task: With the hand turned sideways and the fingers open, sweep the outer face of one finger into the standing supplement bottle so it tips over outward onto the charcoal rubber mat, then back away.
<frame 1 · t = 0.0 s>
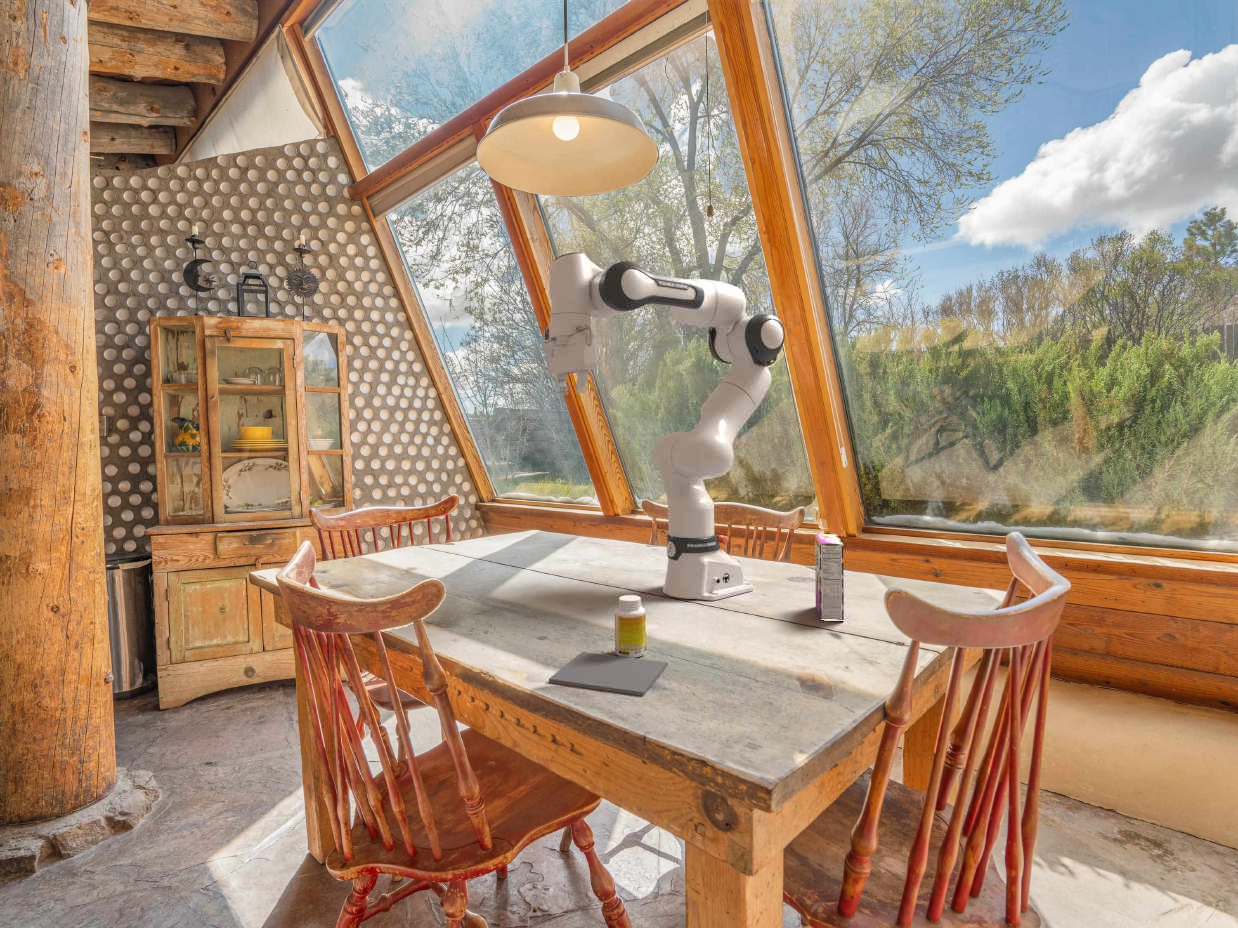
hand: (571, 394, 141), 48 cm above the table, tool pointing down, fingers open, 8 cm apart
candy bar box: (828, 615, 139), on the table
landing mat: (610, 673, 107), on the table
supplement bottle: (630, 654, 117), on the table
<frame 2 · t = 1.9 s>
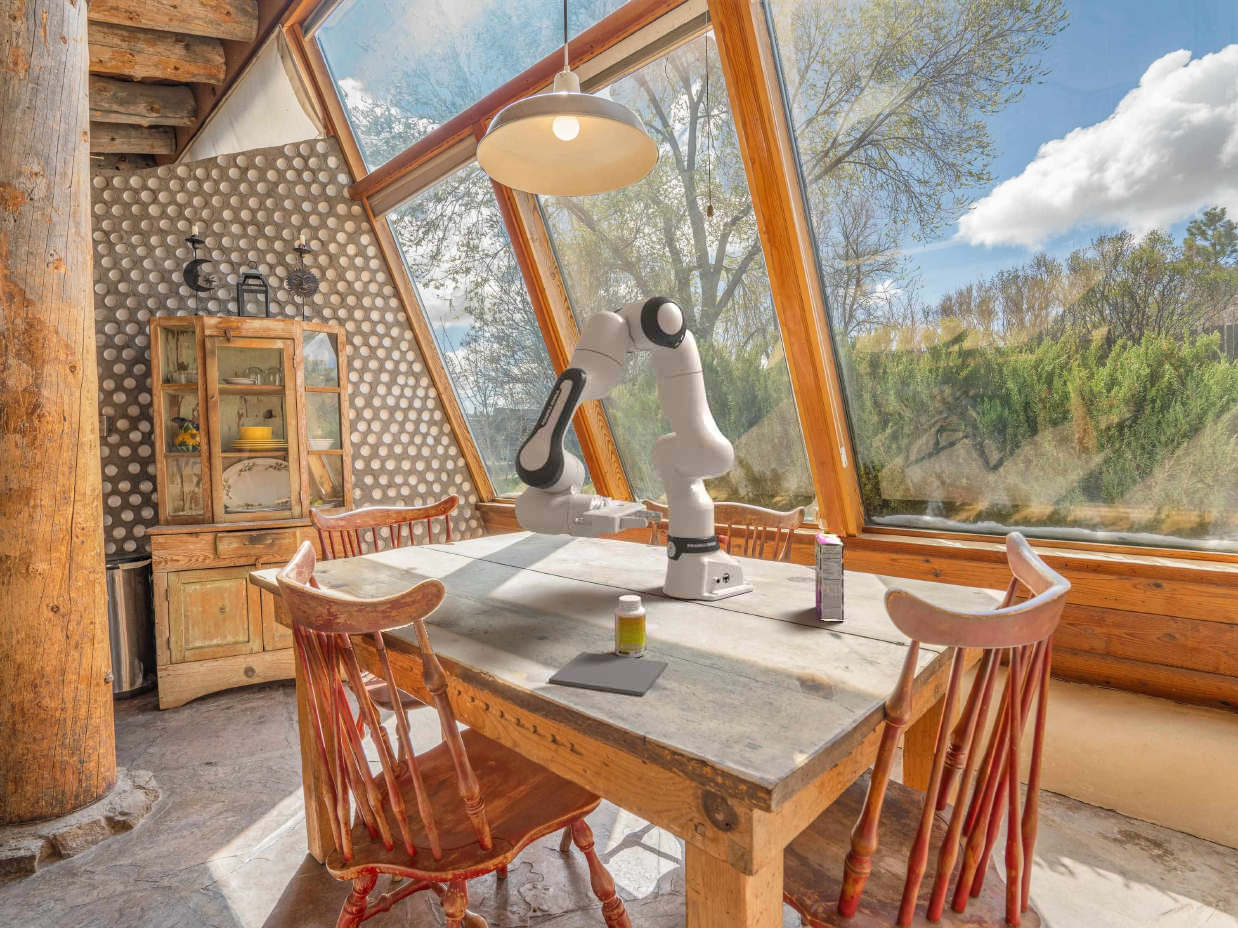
hand: (654, 519, 127), 22 cm above the table, tool horizontal, fingers open, 8 cm apart
nothing on the table moved.
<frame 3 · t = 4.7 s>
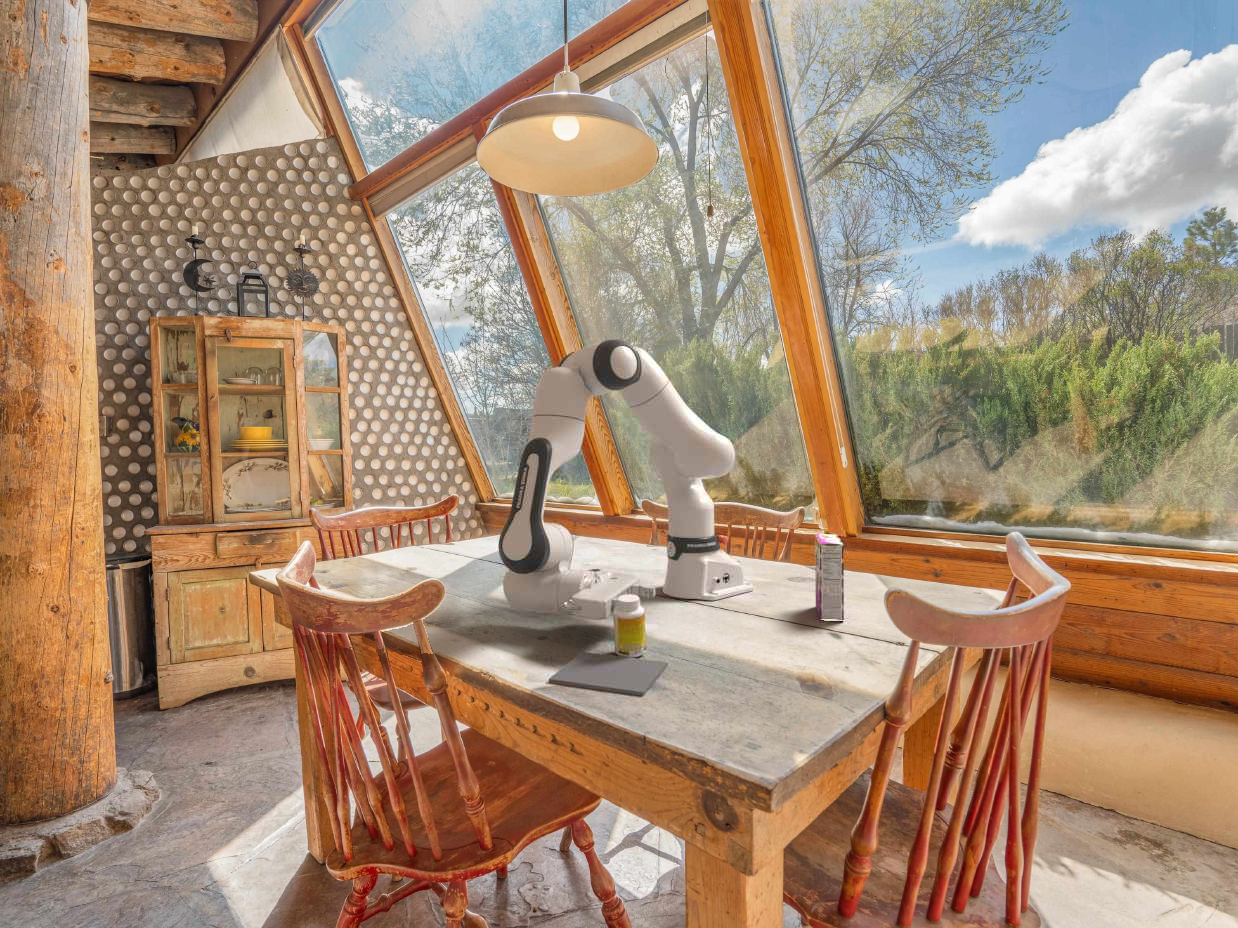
hand: (647, 598, 123), 8 cm above the table, tool horizontal, fingers open, 7 cm apart
supplement bottle: (630, 653, 117), on the table, touching gripper
everything else where it was.
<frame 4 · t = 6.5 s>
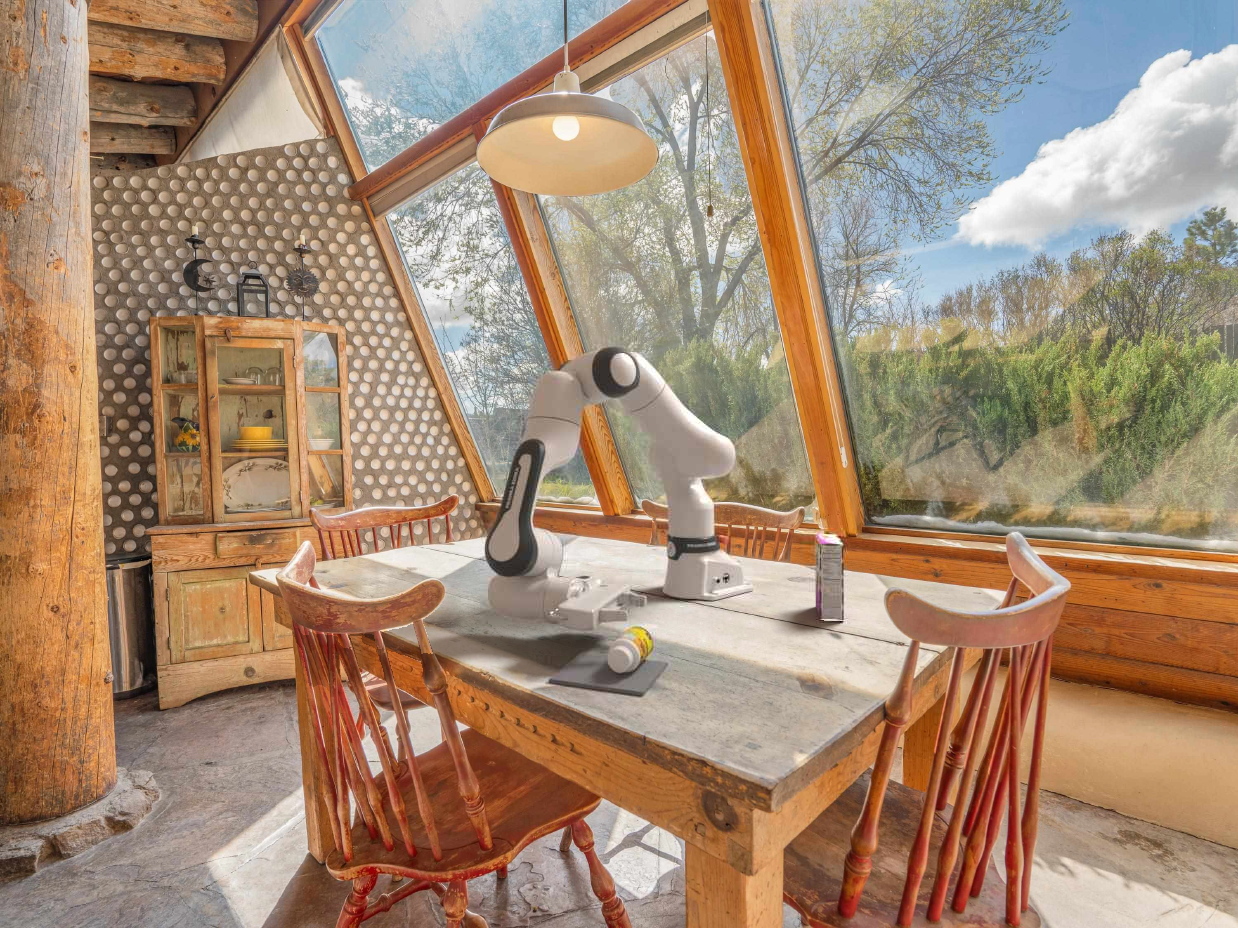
hand: (637, 608, 117), 8 cm above the table, tool horizontal, fingers open, 8 cm apart
supplement bottle: (640, 640, 114), point 3 cm above the table, touching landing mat
everything else where it was.
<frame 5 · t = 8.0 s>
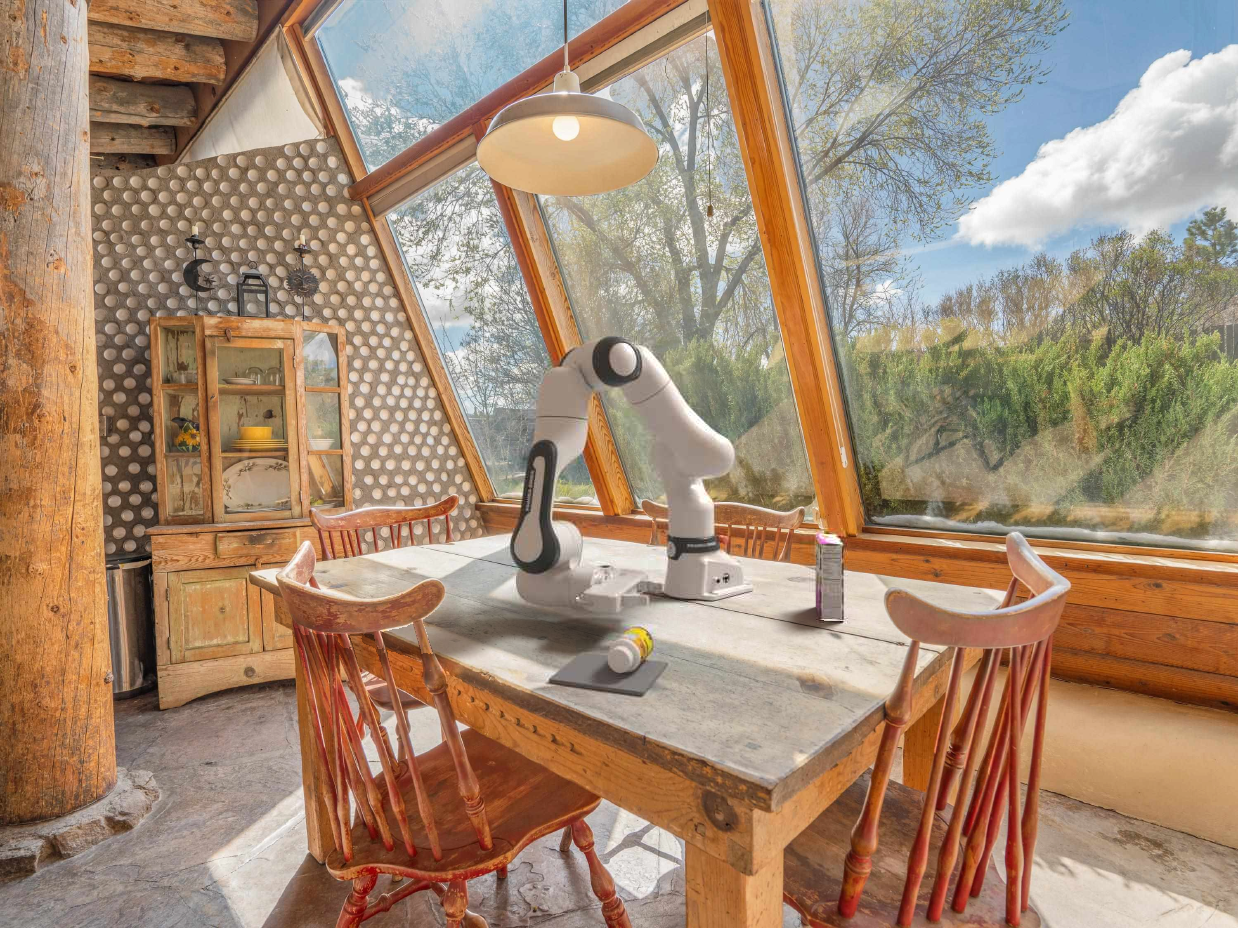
hand: (655, 593, 127), 8 cm above the table, tool horizontal, fingers open, 8 cm apart
nothing on the table moved.
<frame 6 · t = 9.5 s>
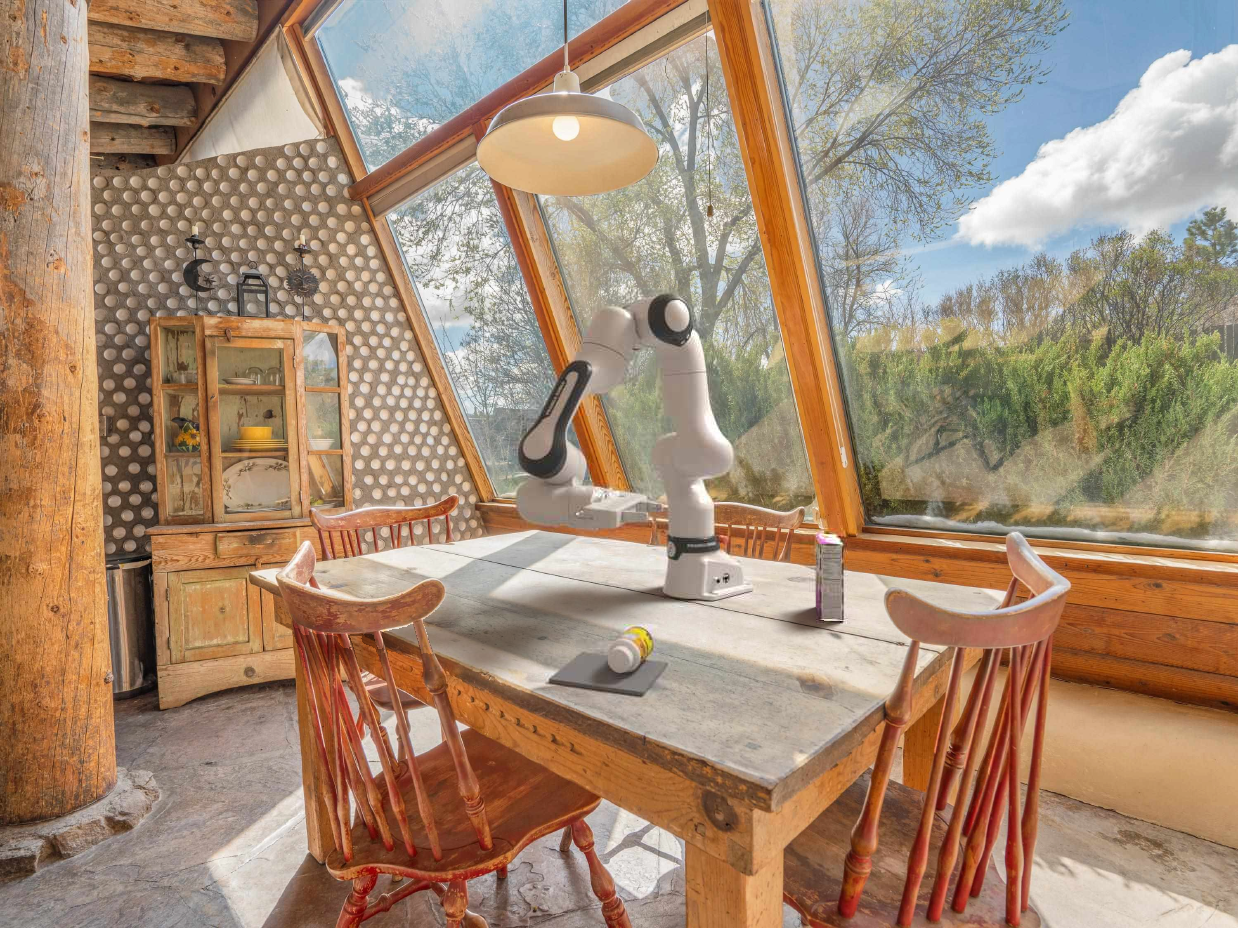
hand: (655, 512, 127), 24 cm above the table, tool horizontal, fingers open, 8 cm apart
nothing on the table moved.
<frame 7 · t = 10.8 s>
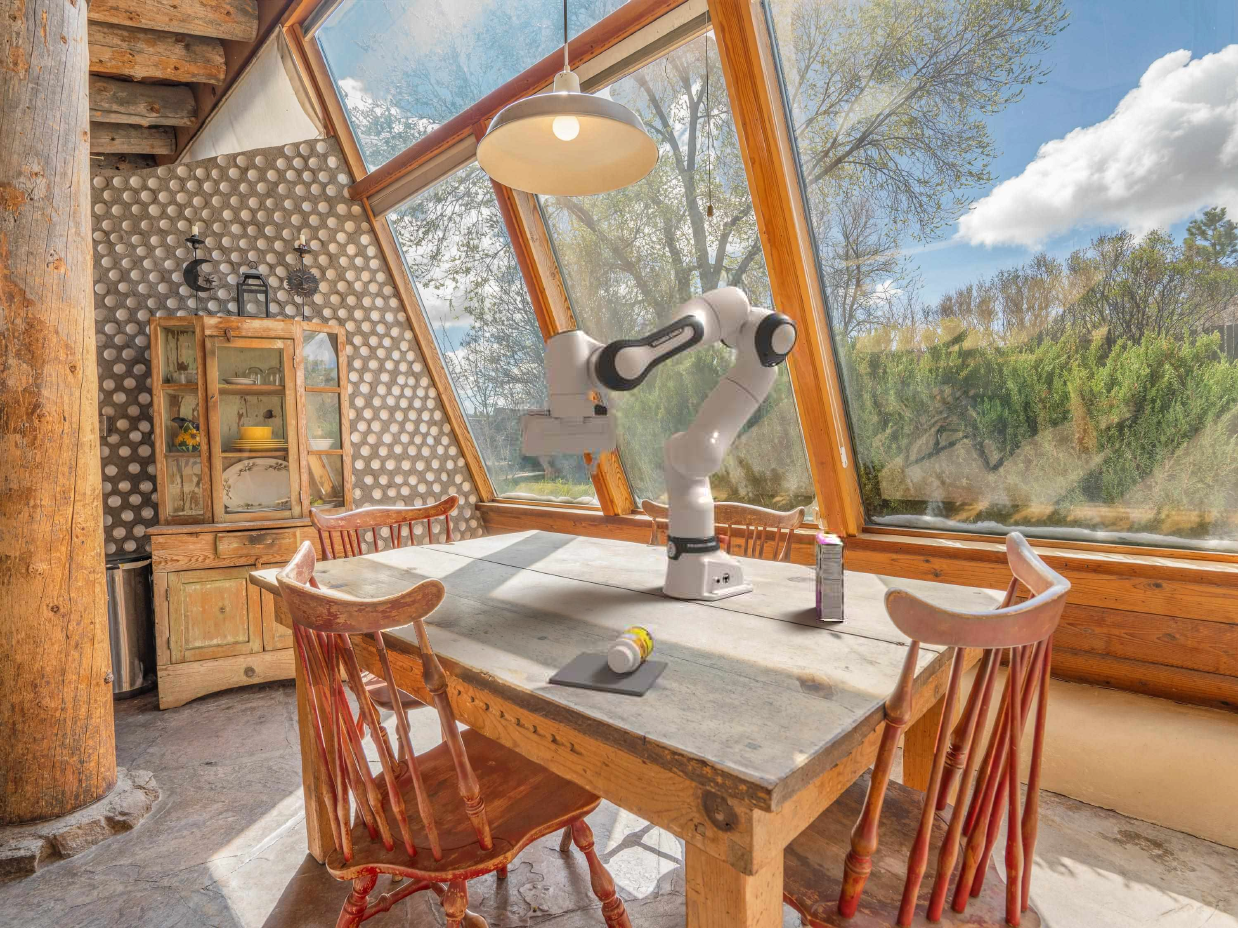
hand: (571, 475, 136), 31 cm above the table, tool pointing down, fingers open, 8 cm apart
nothing on the table moved.
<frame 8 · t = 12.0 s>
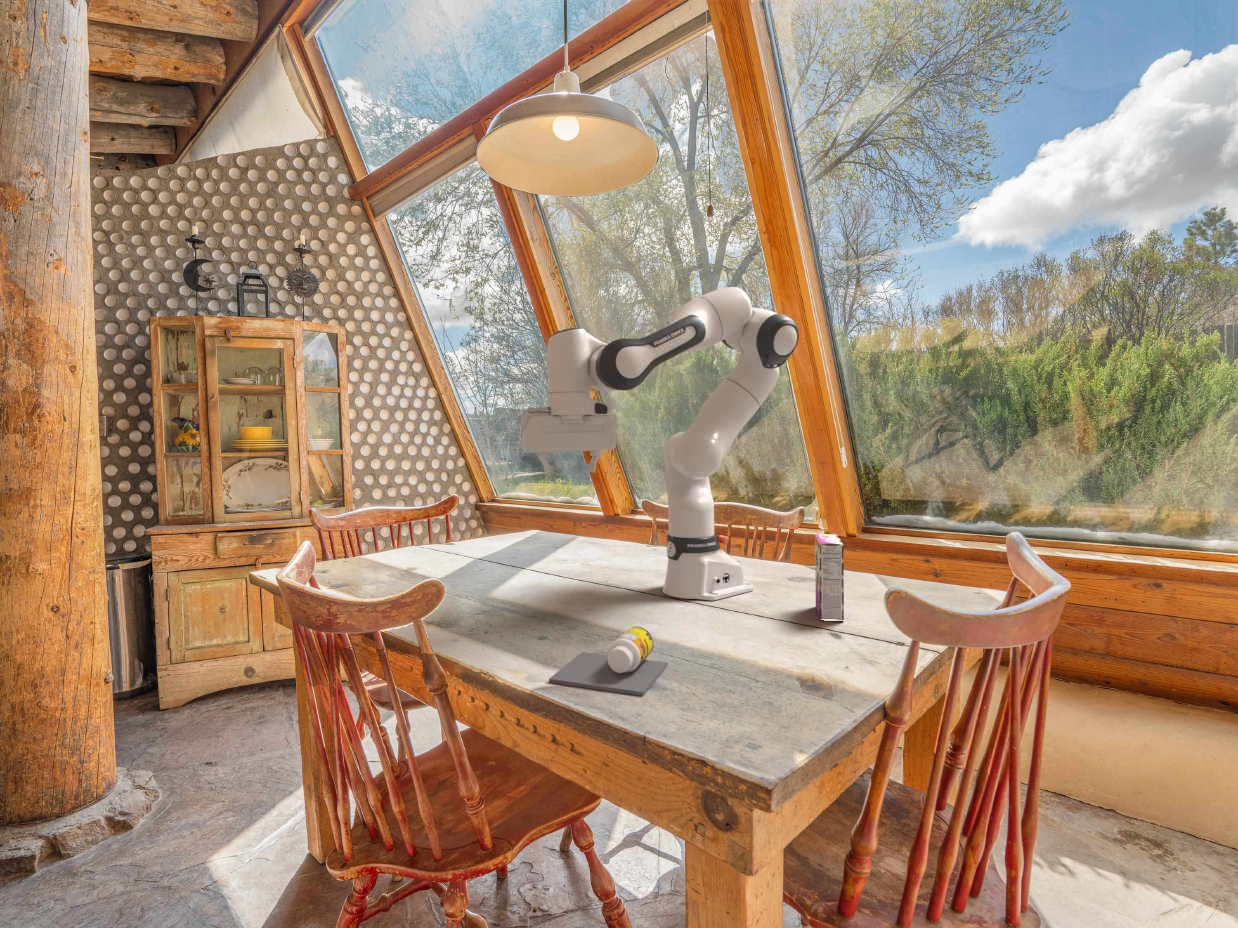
hand: (570, 473, 136), 31 cm above the table, tool pointing down, fingers open, 8 cm apart
nothing on the table moved.
at the end: supplement bottle tilted 90°; supplement bottle touching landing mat; supplement bottle 8.3 cm from the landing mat (horizontally) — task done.
